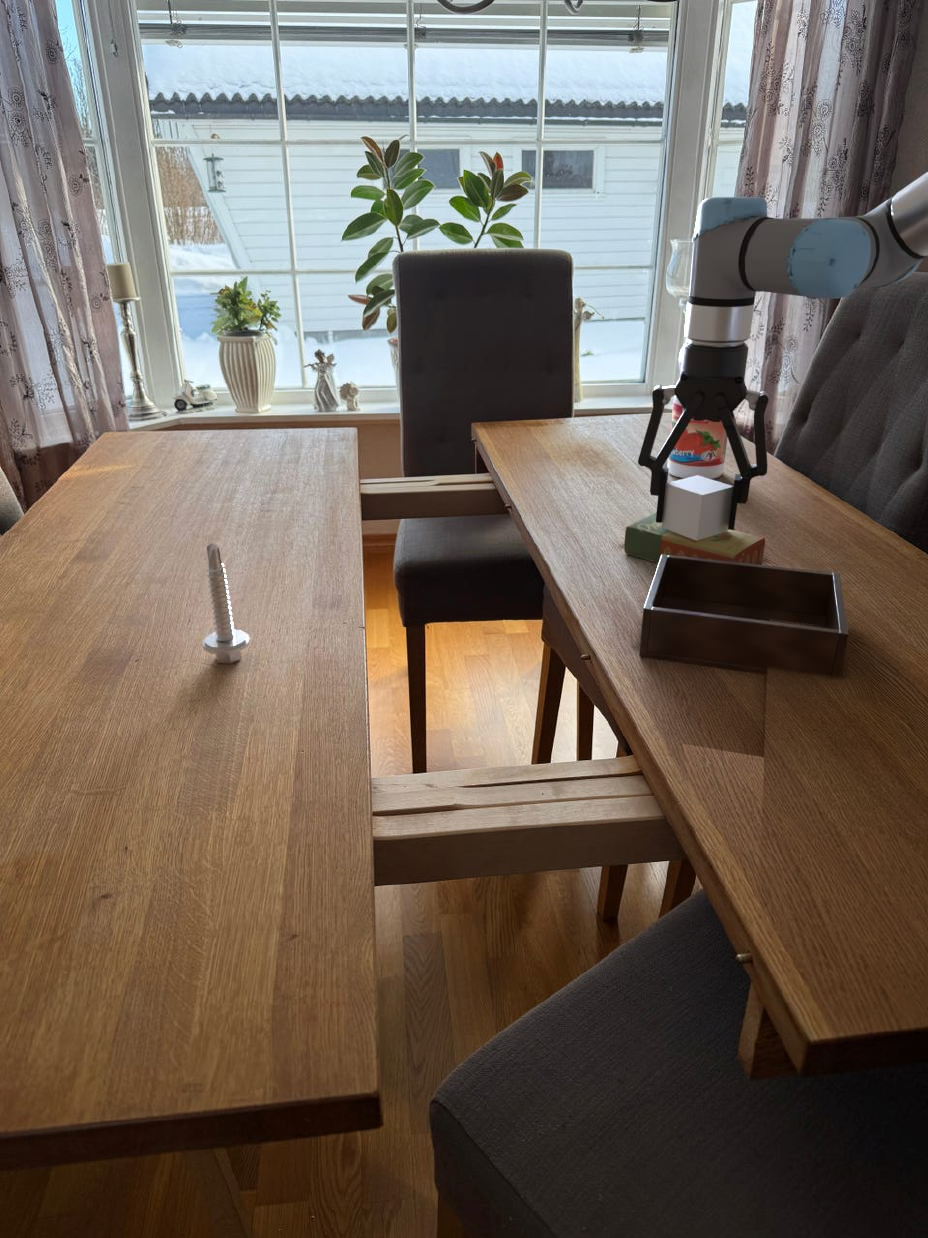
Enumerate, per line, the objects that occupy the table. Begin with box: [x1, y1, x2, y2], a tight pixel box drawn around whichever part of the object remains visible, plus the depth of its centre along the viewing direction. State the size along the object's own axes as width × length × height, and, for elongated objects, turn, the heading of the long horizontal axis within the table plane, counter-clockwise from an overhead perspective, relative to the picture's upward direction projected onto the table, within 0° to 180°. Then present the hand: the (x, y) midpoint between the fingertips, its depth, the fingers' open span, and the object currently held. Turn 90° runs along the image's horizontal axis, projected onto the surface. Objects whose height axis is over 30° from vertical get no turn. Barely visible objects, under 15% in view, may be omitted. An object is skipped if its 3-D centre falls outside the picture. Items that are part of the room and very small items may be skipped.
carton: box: [623, 511, 766, 565], centre depth 116 cm, size 8×16×4 cm, turn 47°
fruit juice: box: [666, 338, 728, 480], centre depth 145 cm, size 9×9×28 cm
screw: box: [201, 542, 251, 665], centre depth 90 cm, size 13×5×5 cm
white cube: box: [661, 475, 734, 541], centre depth 113 cm, size 6×6×6 cm
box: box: [638, 554, 849, 677], centre depth 96 cm, size 20×16×6 cm
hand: (695, 522), depth 114 cm, fingers closed on white cube, 8 cm apart
